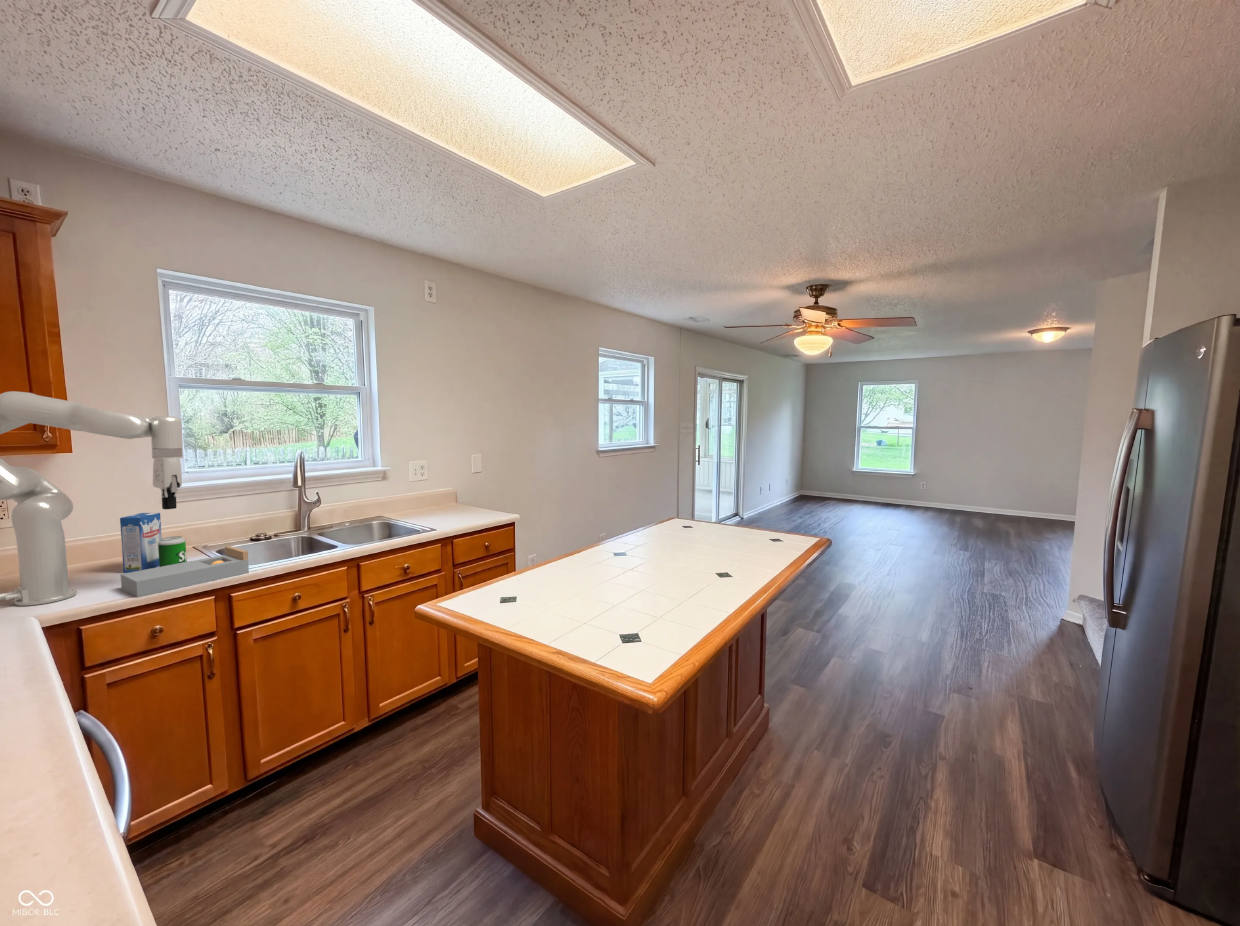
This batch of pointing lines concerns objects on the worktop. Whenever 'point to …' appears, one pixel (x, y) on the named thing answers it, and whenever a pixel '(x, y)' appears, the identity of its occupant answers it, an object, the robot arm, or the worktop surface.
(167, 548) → the soda can
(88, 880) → the worktop surface
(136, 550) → the milk carton
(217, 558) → the grey long boxy piece
